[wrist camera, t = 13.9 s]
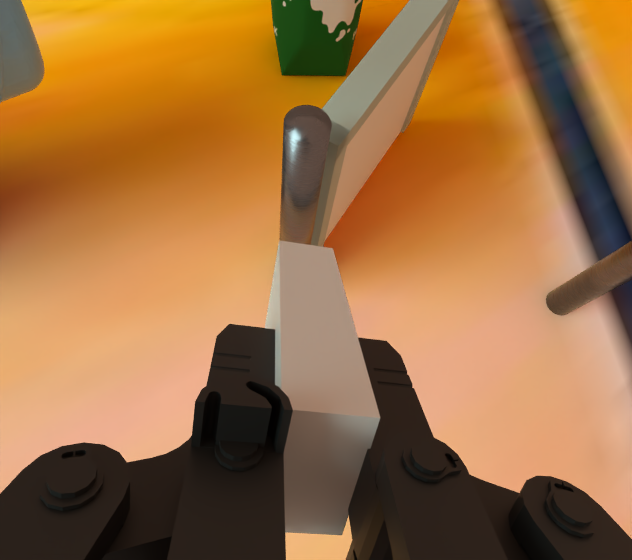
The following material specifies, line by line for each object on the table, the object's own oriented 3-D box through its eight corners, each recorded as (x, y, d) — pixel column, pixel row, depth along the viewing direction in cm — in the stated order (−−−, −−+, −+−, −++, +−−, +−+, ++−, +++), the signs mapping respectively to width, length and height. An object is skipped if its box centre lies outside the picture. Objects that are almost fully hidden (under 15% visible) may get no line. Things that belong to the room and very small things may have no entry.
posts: (276, 288, 41) (281, 140, 22) (279, 264, 42) (286, 102, 23) (573, 316, 43) (803, 198, 24) (569, 292, 43) (788, 161, 25)
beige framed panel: (314, 262, 41) (338, 146, 26) (293, 250, 41) (305, 128, 27) (409, 122, 48) (471, -30, 34) (391, 113, 49) (444, -43, 34)
